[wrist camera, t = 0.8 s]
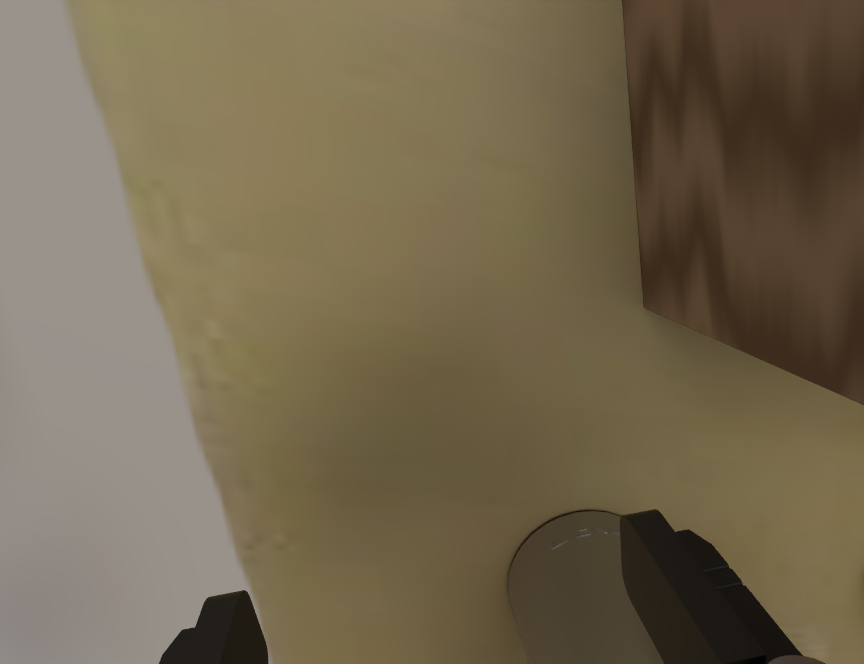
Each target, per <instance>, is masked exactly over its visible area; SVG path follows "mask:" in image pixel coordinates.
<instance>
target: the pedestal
mask: <svg viewBox="0 0 864 664" xmlns="http://www.w3.org/2000/svg"><path fill="white" fill-rule="evenodd" d="M622 2H623V16H624V30H625V45H626V59H627V73H628V87H629V102H630V116H631V130H632V144H633V159H634V173H635V187H636V201H637V216H638V230H639V244H640V258H641V273H642V287H643V301H644V308H646V309H648V310H650V311H653V312H655V313H657V314H659V315H662V316H664V317H666V318H668V319H671V320H673V321H675V322H678V323H680V324H682V325H684V326H687V327H689V328H691V329H693V330H696V331H698V332H700V333H702V334H705V335H707V336H709V337H711V338H714V339H716V340H718V341H720V342H723V343H725V344H727V345H729V346H732V347H734V348H736V349H738V350H741V351H743V352H745V353H747V354H750V355H752V356H754V357H757V358H759V359H761V360H763V361H766V362H768V363H770V364H772V365H775V366H777V367H779V368H781V369H784V370H786V371H788V372H790V373H793V374H795V375H797V376H799V377H802V378H804V379H806V380H808V381H811V382H813V383H815V384H817V385H820V386H822V387H824V388H826V389H829V390H831V391H833V392H836V393H838V394H840V395H842V396H845V397H847V398H849V399H851V400H854V401H856V402H858V403H860V404H863V405H864V0H622Z"/></svg>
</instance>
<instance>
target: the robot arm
mask: <svg viewBox="0 0 864 664" xmlns="http://www.w3.org/2000/svg"><path fill="white" fill-rule="evenodd" d="M508 593H509V599H510V603H511V607H512V610H513V613H514V616H515V620H516V623H517V626H518V629H519V633H520V636H521V639H522V642H523V646H524V649H525V653H526V656H527V660H528V663H529V664H825V663H823V662H821V661H818V660H816V659H813V658H809V657H805V656H803V655H802V654H801V653H800V652H799V651H798V650H797V649H796V647H795V646H794V645H793V644H792V642H791V641H790V640H789V639H788V637H787V636H786V635H785V634H784V633H783V631H782V630H781V629H780V628H779V626H778V625H777V624H776V623H775V621H774V620H773V619H772V618H771V617H770V615H769V614H768V613H767V612H766V610H765V609H764V608H763V607H762V605H761V604H760V603H759V602H758V601H757V599H756V598H755V597H754V596H753V594H752V593H751V592H750V591H749V589H748V588H747V587H746V586H743V584H742V581H741V580H740V578H739V577H738V576H737V575H736V573H735V572H734V571H733V570H732V569H730V568H729V566H728V564H727V562H726V561H725V560H724V559H723V557H722V556H721V555H720V554H719V553H718V551H717V550H716V549H715V548H714V546H713V545H712V544H710V543H709V542H707V541H706V540H704V539H703V538H701V537H700V536H698V535H696V534H695V533H693V532H692V531H690V530H689V529H688V530H683V531H678V532H675V531H674V530H673V529H672V527H671V526H670V525H669V523H668V522H667V521H666V519H665V518H664V517H663V515H662V514H661V513H660V512H659V511H658V510H655V509H654V510H649V511H644V512H639V513H633V514H628V515H623V516H621V517H620V516H617V515H614V514H611V513H608V512H597V511H586V512H576V513H572V514H569V515H566V516H562V517H559V518H557V519H555V520H553V521H551V522H549V523H547V524H545V525H544V526H542V527H541V528H540V529H539V530H537V531H536V532H535V533H533V534H532V535H531V536H530V537H529V538H528V539H527V541H526V542H525V543H524V544H523V545H522V546H521V548H520V549H519V551H518V553H517V555H516V556H515V558H514V560H513V563H512V566H511V569H510V572H509V578H508ZM159 664H268V651H267V645H266V642H265V639H264V636H263V633H262V630H261V627H260V624H259V621H258V619H257V616H256V613H255V610H254V607H253V604H252V601H251V599H250V596H249V594H248V592H247V591H245V590H243V591H238V592H233V593H228V594H222V595H217V596H212V597H208V598H207V599H206V601H205V602H204V605H203V607H202V610H201V613H200V616H199V618H198V621H197V624H196V627H195V628H190V629H184V630H182V631H181V632H180V633H179V634H178V636H177V637H176V638H175V640H174V641H173V642H172V643H171V645H170V646H169V647H168V649H167V650H166V651H165V652H164V654H163V655H162V657H161V661H160V663H159Z"/></svg>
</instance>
